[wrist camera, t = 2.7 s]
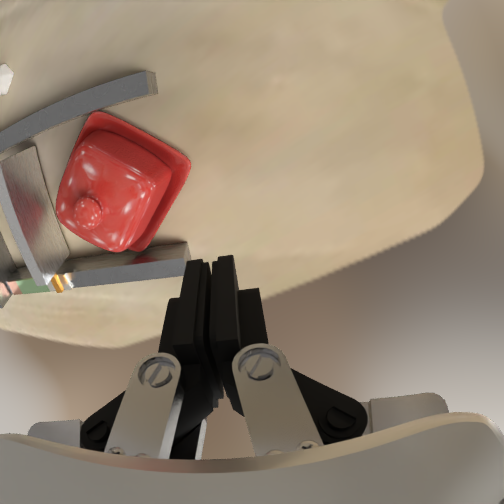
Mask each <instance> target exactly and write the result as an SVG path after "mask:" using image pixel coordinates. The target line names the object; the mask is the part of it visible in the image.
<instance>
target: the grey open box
mask: <svg viewBox="0 0 504 504" xmlns="http://www.w3.org/2000/svg"><path fill="white" fill-rule="evenodd" d="M155 94H158V90H157V83H156V76H155V73H153V72H148V71H143V72H140V73H136V74H133V75H129V76H126V77H123V78H119V79H116V80H113V81H110V82H107V83H104V84H101V85H98V86H96V87H93V88H90V89H88V90H85V91H82V92H80V93H77V94H75V95H72V96H70V97H68V98H65V99H63V100H61V101H59V102H56V103H54V104H52V105H50V106H48V107H46V108H44V109H41V110H39V111H37V112H35V113H33V114H32V115H30V116H28V117H26V118H24V119H22V120H20V121H19V122H17V123H15V124H13V125H11V126H10V127H8V128H6V129H5V130H3V131H1V132H0V154H1V153H3V152H4V151H6V150H8V149H10V148H12V147H14V146H16V145H18V144H20V143H22V142H24V141H26V140H28V139H30V138H32V137H34V136H36V135H38V134H40V133H43V132H45V131H47V130H49V129H52V128H54V127H56V126H59V125H61V124H64V123H66V122H69V121H71V120H74V119H76V118H79V117H82V116H84V115H87V114H90V113H93V112H95V111H99V110H102V109H105V108H108V107H111V106H114V105H118V104H121V103H124V102H128V101H132V100H135V99H139V98H143V97H147V96H151V95H155ZM190 260H191V256H190V252H189V248H188V244H187V242H184V243H177V244H170V245H163V246H156V247H149V248H146V249H145V250H143V251H142V252H136V251H132V250H128V251H121V252H115V253H108V254H102V255H95V256H89V257H82V258H76V259H70V260H65V261H64V262H63V263H62V265H61V266H60V267H59V269H58V270H57V272H56V274H57V276H58V278H59V280H60V282H61V284H62V286H63V288H64V290H71V289H72V288H76V287H86V286H95V285H105V284H114V283H124V282H133V281H142V280H151V279H159V278H168V277H177V276H184V272H185V267H186V262H187V261H190ZM50 291H56V290H55V288H54V286H53V284H52V282H51V280H50V282H49V283H48V284H47V285H43V286H37V285H36V283H35V281H34V280H33V278H32V276H31V274H30V272H29V270H28V268H27V267H21V268H16V266H15V264H14V262H13V260H12V257H11V255H10V253H9V251H8V249H7V246H6V244H5V242H4V239H3V237H2V235H1V232H0V308H3V307H4V305H5V304H6V302H7V301H8V300H9V298H10V297H11V295H12V294H14V295H16V294H28V293H39V292H50Z"/></svg>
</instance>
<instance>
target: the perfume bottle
mask: <svg viewBox="0 0 504 504" xmlns="http://www.w3.org/2000/svg"><path fill="white" fill-rule="evenodd" d="M13 75H14V73H13V71H12V70H11V69H10V68H9V67H8V66H7V65H6V64H3V65H1V66H0V95H6V94H7V92H8V89H9V86H10V83H11V81H12V78H13Z"/></svg>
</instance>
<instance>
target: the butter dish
mask: <svg viewBox="0 0 504 504" xmlns="http://www.w3.org/2000/svg"><path fill="white" fill-rule="evenodd" d="M190 169H191V162H190V160H189V159H188V158H187V157H186V156H185V155H183V154H182V153H180V152H179V151H177V150H176V149H174V148H172V147H170V146H169V145H167V144H165V143H164V142H162V141H160V140H158V139H156V138H155V137H153V136H151V135H149V134H147V133H146V132H144V131H142V130H140V129H138V128H136V127H134V126H132V125H131V124H129V123H127V122H125V121H122V120H121V119H119V118H117V117H114V116H113V115H110V114H108V113H105V112H101V111H95V112H93V113H91V114H90V116H89V117H88V119H87V120H86V122H85V124H84V126H83V128H82V130H81V132H80V134H79V137H78V139H77V141H76V143H75V146H74V148H73V151H72V153H71V156H70V158H69V161H68V164H67V167H66V169H65V172H64V175H63V177H62V180H61V183H60V186H59V190H58V194H57V199H56V215H57V217H58V219H59V221H60V222H61V223H62V224H63V225H64V226H65V227H67V228H68V229H69V230H70V231H72V232H73V233H75V234H76V235H78V236H79V237H81V238H82V239H84V240H86V241H88V242H89V243H92V244H94V245H96V246H97V247H100V248H102V249H105V250H108V251H111V252H121V251H124V250H125V249H127V248H128V249H130V250H132V251H136V252H142V251H143V250H145V249H146V248H147V247H148V245H149V244H150V242H151V240H152V239H153V237H154V235H155V233H156V232H157V230H158V228H159V227H160V225H161V223H162V222H163V220H164V218H165V216H166V214H167V213H168V211H169V209H170V208H171V205H172V204H173V203H174V200H175V199H176V197H177V196H178V194H179V192H180V190H181V189H182V187H183V185H184V184H185V181H186V179H187V177H188V175H189V172H190Z"/></svg>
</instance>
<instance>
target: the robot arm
mask: <svg viewBox="0 0 504 504" xmlns="http://www.w3.org/2000/svg"><path fill="white" fill-rule="evenodd" d="M223 386H224V389H225V391H226V394H227V397H228V398H229V399H230V402H231V404H232V407H233V410H235V411H236V412H238V413H239V414H241V415H242V416H244V417H245V420H246V424H247V427H248V431H249V435H250V438H251V442H252V445H253V449H254V452H255V455H256V457H246V458H234V459H233V458H232V459H212V460H201V455H202V449H203V443H204V437H205V431H206V425H207V416H208V415H209V414H210V413H211V412H212V411H213V408H216V407H218V399H223V397H224V392H223ZM0 504H504V435H503V434H502V432H501V430H500V429H499V428H498V427H497V425H496V424H495V423H494V422H493V421H492V420H491V419H489V418H488V417H486V416H484V415H482V414H478V413H470V412H452V413H449V411H448V406H447V404H446V402H445V400H444V399H443V398H442V397H441V396H440V395H437V394H435V393H421V394H414V395H406V396H398V397H389V398H377V399H371V400H370V401H369V402H358V401H356V400H355V399H353V398H350V397H349V396H346V395H344V394H342V393H340V392H338V391H336V390H334V389H331V388H329V387H327V386H325V385H323V384H321V383H319V382H317V381H315V380H313V379H311V378H309V377H307V376H305V375H303V374H301V373H299V372H297V371H295V370H293V369H291V368H290V366H289V364H288V361H287V359H286V357H285V355H284V354H283V352H282V351H281V350H280V349H278V348H277V347H275V346H273V345H269V344H268V338H267V332H266V327H265V321H264V315H263V309H262V303H261V297H260V292H259V288H253V289H245V290H239V287H238V281H237V275H236V269H235V263H234V257H233V255H227V256H220V257H218V261H213V262H212V275H211V271H210V266H209V263H208V262H205V263H203V260H202V259H197V260H190V261H187V262H186V267H185V272H184V277H183V282H182V288H181V293H180V297H179V298H170V299H169V302H168V306H167V311H166V315H165V320H164V325H163V330H162V335H161V340H160V346H159V351H158V353H154V354H151V355H148V356H146V357H145V358H143V359H142V360H141V361H140V362H139V363H138V364H137V366H136V367H135V369H134V371H133V373H132V376H131V379H130V381H129V384H128V387H127V389H126V390H125V391H124V392H123V393H121V394H120V395H119V396H117V397H116V398H115V399H113V400H112V401H110V402H109V403H108V404H107V405H105V406H104V407H102V408H101V409H99V410H98V411H97V412H95V413H94V414H93V415H91V416H90V417H89V418H88V419H87V420H86V421H85V422H82V421H81V420H80V419H79V420H68V421H54V422H39V423H36V424H34V425H33V426H32V427H31V428H30V430H29V432H28V435H21V434H10V433H9V434H0Z"/></svg>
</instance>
